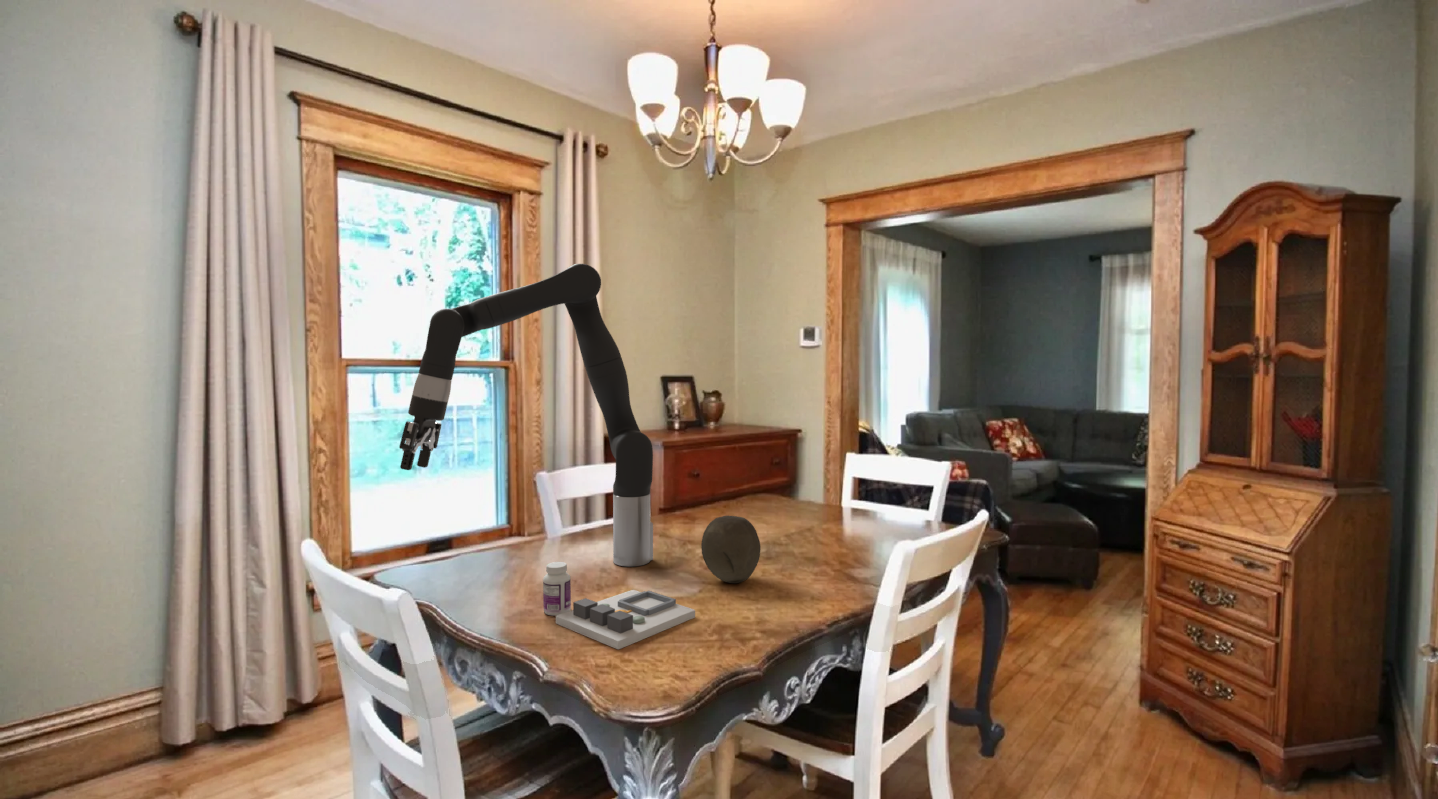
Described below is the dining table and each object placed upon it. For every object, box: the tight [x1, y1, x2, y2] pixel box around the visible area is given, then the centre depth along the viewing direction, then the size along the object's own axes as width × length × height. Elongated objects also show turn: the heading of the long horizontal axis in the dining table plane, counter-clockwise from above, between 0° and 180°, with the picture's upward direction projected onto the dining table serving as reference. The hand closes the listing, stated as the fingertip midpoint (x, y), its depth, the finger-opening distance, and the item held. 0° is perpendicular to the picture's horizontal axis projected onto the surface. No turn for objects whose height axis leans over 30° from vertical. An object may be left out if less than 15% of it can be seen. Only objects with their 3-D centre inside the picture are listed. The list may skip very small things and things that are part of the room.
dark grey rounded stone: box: [700, 515, 761, 584], centre depth 156 cm, size 14×14×15 cm
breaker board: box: [555, 589, 696, 650], centre depth 132 cm, size 20×18×4 cm
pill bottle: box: [542, 561, 572, 617], centre depth 136 cm, size 5×5×10 cm
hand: (414, 468), depth 151 cm, fingers open, 8 cm apart
